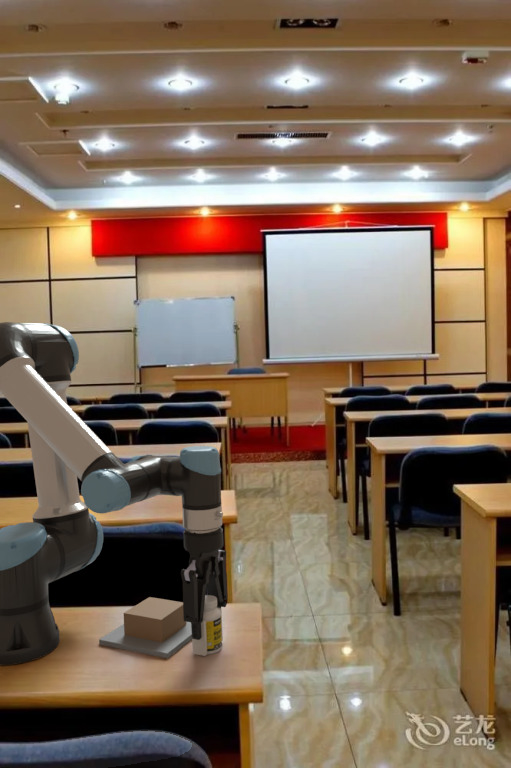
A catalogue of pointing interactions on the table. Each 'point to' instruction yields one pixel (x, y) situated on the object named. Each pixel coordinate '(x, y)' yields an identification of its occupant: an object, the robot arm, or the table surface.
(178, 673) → the table surface
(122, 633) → the base
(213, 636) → the supplement bottle
